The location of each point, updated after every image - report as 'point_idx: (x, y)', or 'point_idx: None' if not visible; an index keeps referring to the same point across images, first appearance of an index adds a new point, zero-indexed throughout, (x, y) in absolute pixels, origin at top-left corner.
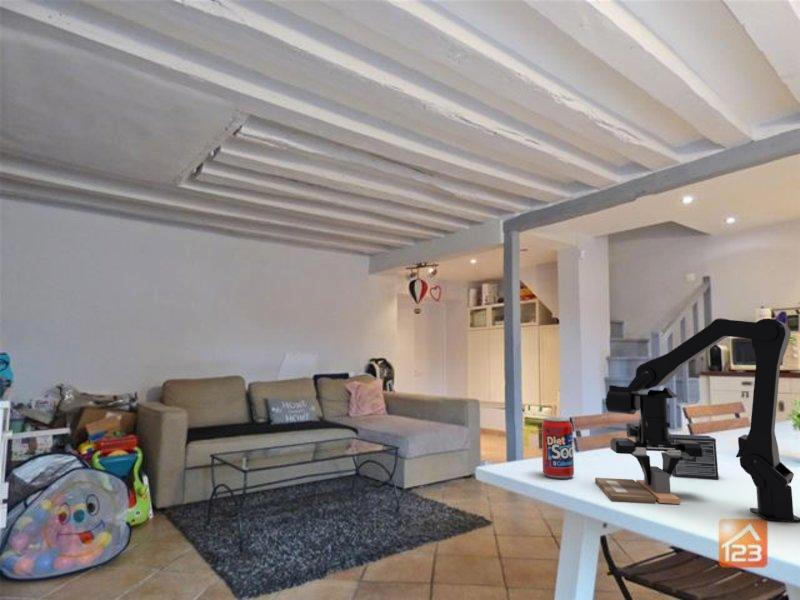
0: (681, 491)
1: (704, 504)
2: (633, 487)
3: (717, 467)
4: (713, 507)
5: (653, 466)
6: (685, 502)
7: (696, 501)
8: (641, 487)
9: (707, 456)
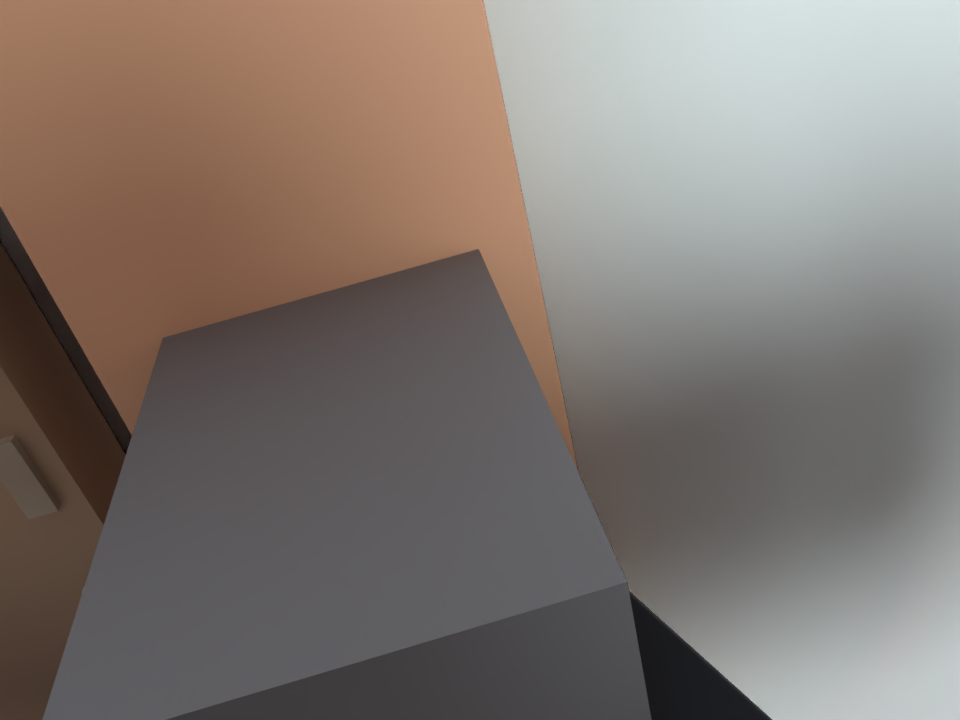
0: (907, 113)
1: (916, 662)
2: (1, 711)
3: None
4: (956, 712)
5: (468, 667)
6: None
7: (879, 597)
8: None
9: None
